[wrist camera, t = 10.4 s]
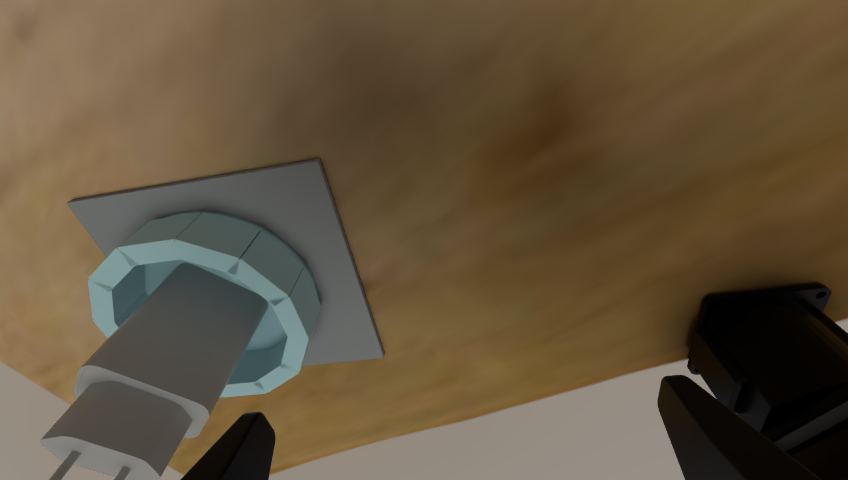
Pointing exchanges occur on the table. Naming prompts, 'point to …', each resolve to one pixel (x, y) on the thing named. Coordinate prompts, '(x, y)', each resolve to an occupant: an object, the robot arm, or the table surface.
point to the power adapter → (156, 377)
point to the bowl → (230, 259)
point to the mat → (275, 211)
